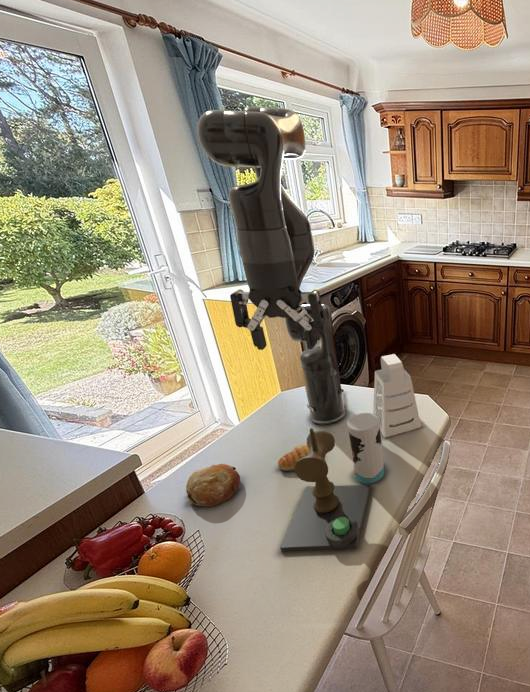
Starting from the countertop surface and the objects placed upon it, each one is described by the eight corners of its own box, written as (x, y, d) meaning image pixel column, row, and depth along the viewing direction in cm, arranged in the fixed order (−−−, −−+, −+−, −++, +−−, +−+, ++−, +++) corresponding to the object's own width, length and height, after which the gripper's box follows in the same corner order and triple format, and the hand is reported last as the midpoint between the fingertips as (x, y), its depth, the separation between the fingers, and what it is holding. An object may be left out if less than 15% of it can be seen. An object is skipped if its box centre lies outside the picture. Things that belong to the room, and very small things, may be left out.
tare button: (335, 523, 80) (334, 517, 79) (351, 522, 80) (350, 516, 79) (332, 536, 77) (330, 529, 76) (348, 535, 77) (347, 528, 76)
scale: (307, 490, 91) (304, 480, 89) (370, 488, 92) (369, 478, 90) (280, 554, 76) (277, 543, 75) (356, 550, 77) (354, 540, 76)
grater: (384, 437, 109) (377, 371, 100) (373, 418, 117) (365, 355, 108) (421, 426, 113) (417, 363, 104) (407, 408, 122) (403, 348, 112)
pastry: (283, 478, 94) (280, 465, 92) (275, 462, 99) (272, 450, 97) (323, 461, 99) (321, 449, 98) (314, 448, 104) (311, 436, 102)
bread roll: (191, 506, 90) (165, 492, 84) (222, 465, 96) (200, 449, 90) (224, 519, 88) (199, 505, 81) (254, 475, 93) (233, 460, 87)
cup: (383, 462, 100) (378, 411, 93) (385, 481, 94) (379, 428, 87) (355, 466, 98) (347, 414, 91) (355, 485, 92) (347, 432, 86)
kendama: (306, 525, 81) (287, 445, 72) (317, 490, 89) (301, 414, 80) (337, 522, 82) (322, 443, 72) (345, 488, 90) (332, 413, 81)
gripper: (319, 252, 69) (332, 339, 77) (232, 251, 68) (254, 339, 76) (305, 262, 63) (321, 356, 70) (209, 261, 61) (236, 357, 69)
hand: (287, 347), depth 73 cm, fingers open, 8 cm apart
